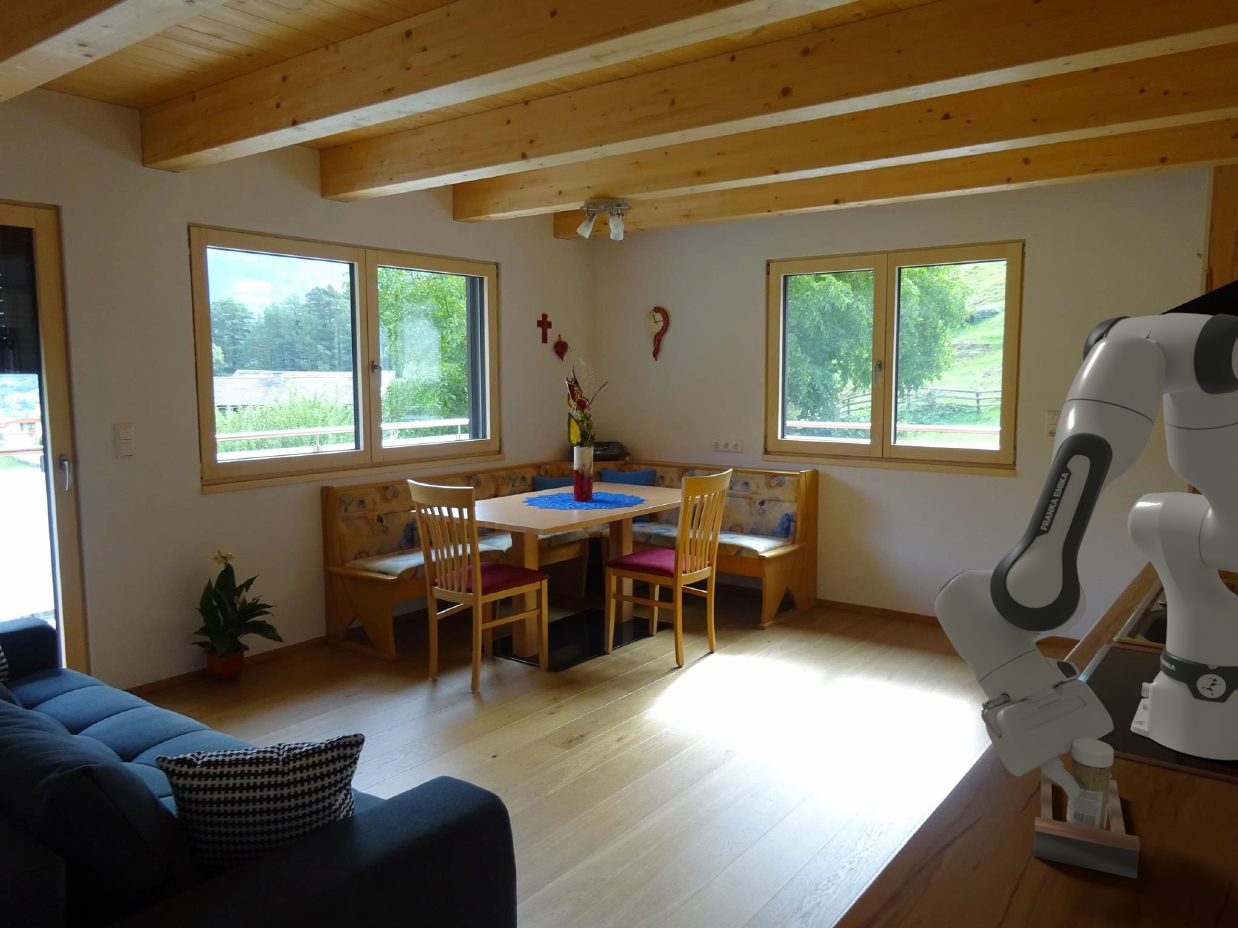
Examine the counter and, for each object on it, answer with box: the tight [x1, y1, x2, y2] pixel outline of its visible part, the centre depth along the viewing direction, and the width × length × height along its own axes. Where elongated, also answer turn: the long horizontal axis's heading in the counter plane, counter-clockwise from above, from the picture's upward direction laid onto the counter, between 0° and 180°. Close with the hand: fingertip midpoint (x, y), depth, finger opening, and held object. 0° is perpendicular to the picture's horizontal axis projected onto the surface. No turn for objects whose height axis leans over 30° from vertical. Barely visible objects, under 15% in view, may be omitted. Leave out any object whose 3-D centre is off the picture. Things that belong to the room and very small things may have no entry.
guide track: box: [1033, 769, 1141, 880], centre depth 119 cm, size 22×11×4 cm, turn 155°
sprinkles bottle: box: [1066, 738, 1115, 830], centre depth 113 cm, size 5×5×13 cm
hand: (1092, 787), depth 112 cm, fingers open, 5 cm apart
